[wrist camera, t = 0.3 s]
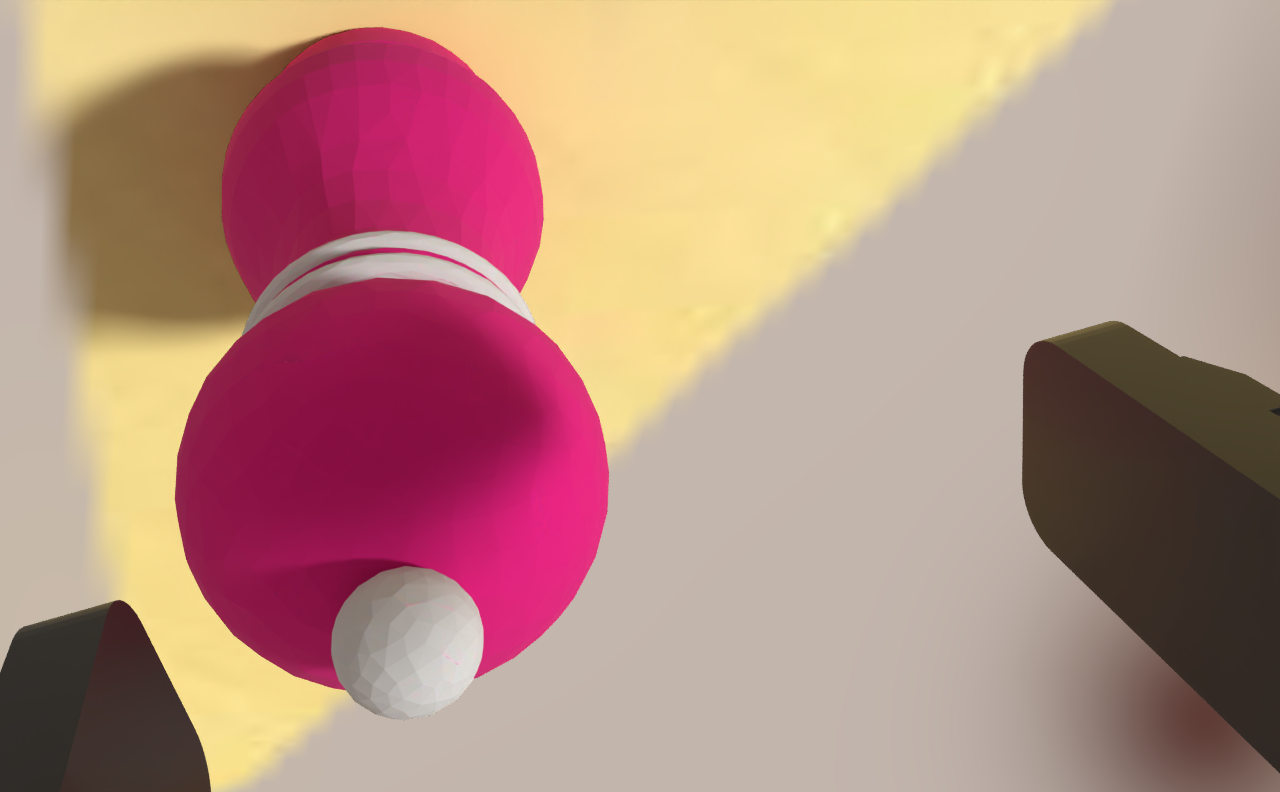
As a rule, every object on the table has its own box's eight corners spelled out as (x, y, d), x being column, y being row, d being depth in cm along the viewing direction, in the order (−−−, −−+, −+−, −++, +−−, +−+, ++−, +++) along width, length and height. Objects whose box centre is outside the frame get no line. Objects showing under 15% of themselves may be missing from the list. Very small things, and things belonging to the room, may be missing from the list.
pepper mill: (225, 248, 30) (42, 910, 13) (257, -28, 26) (68, 368, 10) (489, 292, 32) (629, 903, 15) (548, 43, 29) (807, 464, 12)
